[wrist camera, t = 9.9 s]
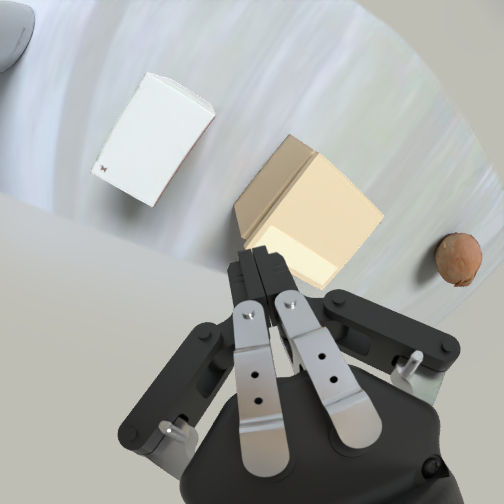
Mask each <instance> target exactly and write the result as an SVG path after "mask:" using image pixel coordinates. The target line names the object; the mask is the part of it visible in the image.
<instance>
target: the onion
mask: <svg viewBox="0 0 504 504" xmlns="http://www.w3.org/2000/svg"><path fill="white" fill-rule="evenodd" d="M435 260H436V264H437V269H438V271H439V274H440V275H441V276H442V278H443V279H444V280H445V281H447V282H449V283H451V284H455V285H454V287H458V286H459V287H461V286H463V287H464V286H468V285H470V284H471V282H472V280H473V279H474V277H475V275H476V273H477V271H478V269H479V268H480V265H481V261H482V252H481V249H480V246H479V244H478V242H477V241H476V239H475V238H474V237H472V236H471V235H470V234H469V235H468V234H465V233H456V232H455V233H452V234H449V235H447V236H446V237H445V239H444V240H443V241H442V242H440V245H439V248H438V247H437V249H436V255H435Z"/></svg>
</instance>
